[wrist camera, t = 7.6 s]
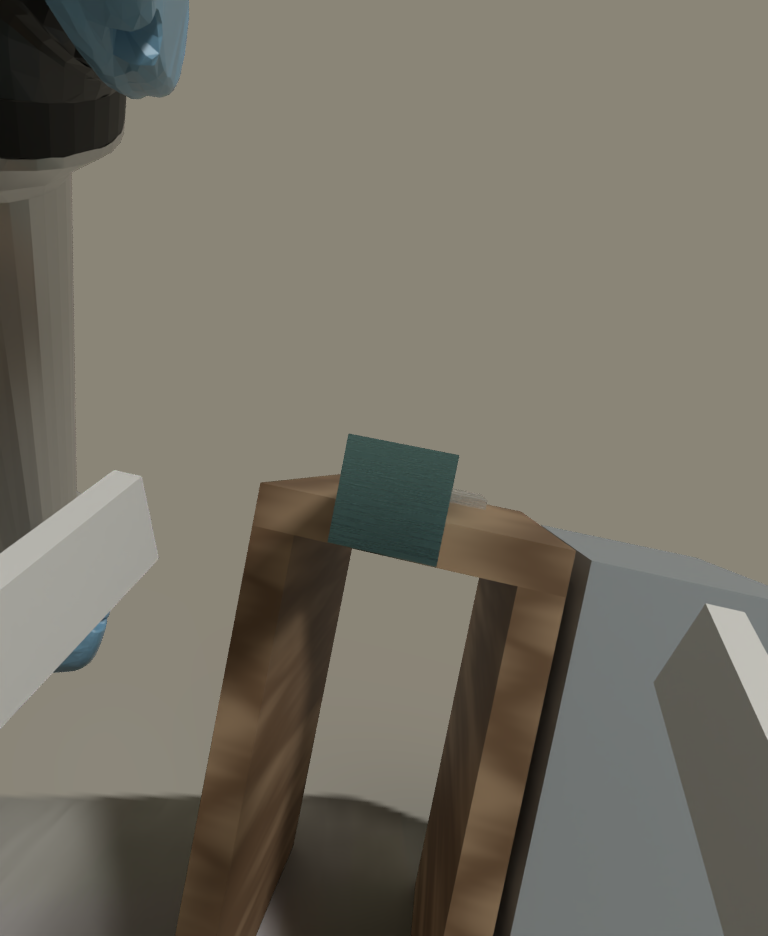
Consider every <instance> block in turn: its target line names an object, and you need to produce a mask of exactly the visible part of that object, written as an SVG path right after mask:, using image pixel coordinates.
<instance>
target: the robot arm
mask: <svg viewBox="0 0 768 936" xmlns="http://www.w3.org/2000/svg"><path fill="white" fill-rule="evenodd" d="M188 21H189V0H0V729H1V728H2V727H3V726H4V724H5V723H6V722H7V721H8V720H9V719H10V718H11V717H12V716H13V715H14V714H15V713H16V712H17V710H18V709H19V708H20V707H21V706H22V705H23V704H24V703H25V702H26V701H27V700H28V699H29V698H30V696H32V694H33V693H34V692H35V691H36V690H37V689H38V688H39V687H40V686H41V685H42V684H43V683H44V682H45V680H46V679H47V678H48V677H49V676H50V675H51V674H52V673H55V672H67V671H68V672H69V671H75V670H78V669H81V668H83V667H84V666H86V665H87V664H88V663H90V662H91V660H92V659H93V658H94V656H95V655H96V653H97V651H98V649H99V646H100V644H101V641H102V638H103V635H104V632H105V628H106V624H107V618H108V616H109V613H110V611H111V609H112V608H113V607H114V606H115V605H116V604H117V603H118V602H119V601H120V600H121V599H122V598H123V597H124V596H125V594H126V593H127V592H128V591H129V590H130V589H131V588H132V587H133V586H134V585H135V584H136V583H137V582H138V580H139V579H140V578H141V577H142V576H143V575H144V574H145V573H146V572H147V571H148V570H149V569H150V567H151V566H152V565H153V564H154V563H155V562H156V561H157V560H158V559H159V558H158V552H157V547H156V543H155V538H154V533H153V528H152V523H151V519H150V513H149V509H148V504H147V499H146V494H145V489H144V485H143V480H142V476H138V475H134V474H130V473H125V472H121V471H116V470H114V471H112V472H111V473H109V474H108V475H107V476H105V477H104V478H103V479H102V480H100V481H99V482H97V483H96V484H94V485H93V486H92V487H90V488H89V489H88V490H86V491H85V492H84V493H82V494H81V493H79V492H78V491H77V487H76V486H77V484H76V482H77V481H76V424H75V423H76V419H75V363H74V362H75V359H74V300H73V298H74V296H73V234H72V172H73V171H76V170H78V169H80V168H82V167H84V166H86V165H88V164H90V163H92V162H94V161H96V160H98V159H100V158H102V157H104V156H106V155H107V154H109V153H111V152H112V151H113V150H114V149H115V148H116V147H117V146H118V145H119V144H120V142H121V140H122V137H123V134H124V124H125V108H126V96H127V97H129V98H131V99H141V98H143V97H145V96H153V97H164V96H167V95H169V94H170V93H171V92H172V91H173V90H174V88H175V86H176V84H177V82H178V80H179V77H180V74H181V68H182V64H183V59H184V55H185V46H186V39H187V29H188ZM653 683H654V686H655V690H656V694H657V697H658V701H659V704H660V708H661V712H662V715H663V719H664V722H665V726H666V729H667V733H668V737H669V740H670V744H671V747H672V751H673V755H674V758H675V762H676V765H677V769H678V772H679V776H680V780H681V783H682V787H683V790H684V794H685V797H686V801H687V805H688V808H689V812H690V815H691V819H692V823H693V826H694V830H695V833H696V837H697V840H698V844H699V848H700V851H701V855H702V858H703V862H704V866H705V869H706V873H707V876H708V880H709V883H710V887H711V891H712V894H713V898H714V901H715V905H716V908H717V912H718V916H719V919H720V923H721V926H722V930H723V934H724V936H768V654H767V653H766V651H765V649H764V647H763V645H762V643H761V641H760V639H759V638H758V636H757V634H756V632H755V630H754V628H753V626H752V625H751V623H750V621H749V619H748V617H747V615H746V613H745V612H742V611H737V610H733V609H728V608H724V607H720V606H715V605H711V604H705V605H704V607H703V608H702V610H701V611H700V613H699V614H698V616H697V617H696V619H695V620H694V622H693V623H692V625H691V626H690V628H689V629H688V631H687V632H686V634H685V635H684V637H683V638H682V640H681V641H680V643H679V645H678V646H677V648H676V649H675V651H674V652H673V654H672V655H671V657H670V658H669V660H668V661H667V663H666V664H665V666H664V667H663V669H662V670H661V672H660V673H659V675H658V676H657V678H656V679H655V681H654V682H653Z"/></svg>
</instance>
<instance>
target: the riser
mask: <svg viewBox="0 0 768 936" xmlns="http://www.w3.org/2000/svg"><path fill="white" fill-rule="evenodd" d="M340 475H341V474H338V475H328V476H319V477H309V478H300V479H291V480H281V481H272V482H262V483H260V488H259V494H258V499H257V504H256V510H255V515H254V520H253V526H252V531H251V536H250V542H249V546H248V552H247V557H246V563H245V568H244V573H243V578H242V584H241V589H240V595H239V600H238V605H237V610H236V616H235V621H234V627H233V631H232V637H231V642H230V647H229V652H228V658H227V664H226V668H225V674H224V679H223V685H222V690H221V695H220V700H219V705H218V711H217V716H216V721H215V727H214V732H213V737H212V743H211V748H210V753H209V758H208V764H207V769H206V774H205V780H204V785H203V790H202V796H201V801H200V806H199V811H198V817H197V822H196V827H195V833H194V838H193V843H192V849H191V854H190V859H189V864H188V870H187V875H186V880H185V886H184V891H183V896H182V902H181V907H180V912H179V917H178V923H177V928H176V933H175V936H256V934H257V932H258V929H259V927H260V924H261V922H262V920H263V917H264V915H265V912H266V910H267V908H268V905H269V903H270V900H271V898H272V895H273V893H274V891H275V888H276V886H277V883H278V881H279V879H280V876H281V874H282V871H283V869H284V866H285V864H286V862H287V859H288V857H289V854H290V852H291V850H292V847H293V844H294V839H295V834H296V829H297V824H298V819H299V814H300V809H301V804H302V799H303V794H304V789H305V784H306V778H307V773H308V768H309V763H310V758H311V753H312V748H313V743H314V738H315V733H316V727H317V723H318V718H319V713H320V707H321V702H322V697H323V692H324V687H325V682H326V677H327V672H328V667H329V662H330V657H331V652H332V647H333V642H334V636H335V632H336V626H337V621H338V616H339V611H340V606H341V601H342V596H343V591H344V586H345V580H346V576H347V570H348V566H349V561H350V555H351V550H352V548H350V547H346V546H342V545H337V544H333V543H329V542H328V537H329V532H330V526H331V521H332V516H333V511H334V506H335V501H336V496H337V491H338V485H339V480H340ZM353 549H355V548H353ZM357 550H359V549H357ZM361 551H364V550H361ZM366 552H368V551H366ZM370 553H372V552H370ZM575 553H576V550H574V549H573V548H571V547H570V546H569V545H567V544H566V543H564V542H563V541H562V540H560V539H559V538H557V537H556V536H555V535H553V534H552V533H550V532H549V531H547V530H546V529H545V528H543V527H542V526H540V525H539V524H537V523H536V522H535V521H533V520H532V519H531V518H529V517H528V516H526V515H525V514H524V513H522V512H520V511H515V510H511V509H506V508H501V507H496V506H491V505H486V510H484V509H479V508H475V507H470V506H465V505H460V504H456V503H451V502H450V503H449V508H448V513H447V518H446V522H445V527H444V532H443V537H442V542H441V547H440V552H439V557H438V561H437V566H436V567H435V568H440V569H444V570H448V571H453V572H457V573H461V574H466V575H470V576H475V577H479V581H478V586H477V591H476V595H475V600H474V605H473V610H472V615H471V620H470V624H469V629H468V634H467V639H466V643H465V649H464V653H463V658H462V663H461V667H460V672H459V677H458V682H457V687H456V691H455V697H454V701H453V706H452V711H451V715H450V720H449V725H448V730H447V736H446V740H445V744H444V749H443V754H442V759H441V763H440V769H439V773H438V778H437V783H436V787H435V792H434V797H433V802H432V807H431V812H430V816H429V821H428V826H427V831H426V835H425V840H424V845H423V850H422V855H421V859H420V864H419V869H418V874H417V879H416V883H415V894H414V906H413V917H412V929H411V936H493V933H494V928H495V924H496V919H497V915H498V910H499V905H500V901H501V896H502V891H503V887H504V882H505V878H506V873H507V868H508V864H509V859H510V854H511V850H512V845H513V840H514V836H515V831H516V827H517V822H518V817H519V813H520V808H521V803H522V799H523V794H524V790H525V785H526V780H527V776H528V771H529V766H530V762H531V757H532V753H533V748H534V743H535V739H536V734H537V729H538V725H539V720H540V715H541V711H542V706H543V702H544V697H545V692H546V688H547V683H548V678H549V674H550V669H551V665H552V660H553V655H554V651H555V646H556V641H557V637H558V632H559V627H560V623H561V618H562V614H563V609H564V604H565V600H566V595H567V590H568V586H569V581H570V577H571V572H572V567H573V563H574V558H575ZM374 554H377V553H374ZM379 555H381V554H379ZM383 556H385V555H383ZM388 557H390V556H388ZM392 558H394V557H392ZM396 559H398V558H396ZM400 560H403V559H400ZM405 561H407V560H405ZM409 562H412V561H409ZM414 563H416V562H414ZM418 564H420V563H418ZM422 565H425V564H422ZM427 566H429V565H427ZM431 567H433V566H431Z"/></svg>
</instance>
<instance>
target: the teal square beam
mask: <svg viewBox="0 0 768 936" xmlns="http://www.w3.org/2000/svg"><path fill="white" fill-rule="evenodd" d="M458 459H459V455H455V454H450V453H445V452H439V451H435V450H430V449H425V448H419V447H414V446H409V445H404V444H399V443H394V442H389V441H384V440H379V439H374V438H369V437H363V436H358V435H352V434H349V435H348V440H347V444H346V450H345V455H344V460H343V465H342V470H341V475H340V480H339V485H338V491H337V496H336V501H335V506H334V511H333V516H332V521H331V526H330V532H329V537H328V542H329V543H333V544H337V545H342V546H346V547H350V548H355V549H359V550H364V551H368V552H372V553H377V554H381V555H385V556H390V557H394V558H398V559H403V560H407V561H412V562H416V563H420V564H425V565H429V566H433V567H436V566H437V561H438V557H439V552H440V547H441V542H442V537H443V532H444V527H445V522H446V518H447V513H448V508H449V503H450V502H451V503H456V504H460V505H465V506H470V507H475V508H479V509H484V510H486V505H487V500H486V499H485V498H484V497H483V496H482V495H480V494H476V493H471V492H466V491H462V490H457V489H452V488H453V483H454V478H455V473H456V468H457V463H458Z"/></svg>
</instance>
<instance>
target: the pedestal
mask: <svg viewBox="0 0 768 936" xmlns="http://www.w3.org/2000/svg"><path fill="white" fill-rule="evenodd" d="M541 526H542V527H543V528H545V529H546V530H547V531H549V532H550V533H552V534H553V535H555V536H556V537H557V538H559V539H560V540H562V541H563V542H564V543H566V544H567V545H569V546H570V547H571V548H573V549H574V550H576V553H575V558H574V563H573V567H572V572H571V577H570V581H569V586H568V590H567V595H566V600H565V604H564V609H563V614H562V618H561V623H560V627H559V632H558V637H557V641H556V646H555V651H554V655H553V660H552V665H551V669H550V674H549V678H548V683H547V688H546V692H545V697H544V702H543V706H542V711H541V715H540V720H539V725H538V729H537V734H536V739H535V743H534V748H533V753H532V757H531V762H530V766H529V771H528V776H527V780H526V785H525V790H524V794H523V799H522V803H521V808H520V813H519V817H518V822H517V827H516V831H515V836H514V840H513V845H512V850H511V854H510V859H509V864H508V868H507V873H506V878H505V882H504V887H503V891H502V896H501V901H500V905H499V910H498V915H497V919H496V924H495V928H494V933H493V936H724V934H723V930H722V926H721V923H720V919H719V916H718V912H717V908H716V905H715V901H714V898H713V894H712V891H711V887H710V883H709V880H708V876H707V873H706V869H705V866H704V862H703V858H702V855H701V851H700V848H699V844H698V840H697V837H696V833H695V830H694V826H693V823H692V819H691V815H690V812H689V808H688V805H687V801H686V797H685V794H684V790H683V787H682V783H681V780H680V776H679V772H678V769H677V765H676V762H675V758H674V755H673V751H672V747H671V744H670V740H669V737H668V733H667V729H666V726H665V722H664V719H663V715H662V712H661V708H660V704H659V701H658V697H657V694H656V690H655V686H654V683H653V682H654V681H655V679H656V678H657V676H658V675H659V673H660V672H661V670H662V669H663V667H664V666H665V664H666V663H667V661H668V660H669V658H670V657H671V655H672V654H673V652H674V651H675V649H676V648H677V646H678V645H679V643H680V641H681V640H682V638H683V637H684V635H685V634H686V632H687V631H688V629H689V628H690V626H691V625H692V623H693V622H694V620H695V619H696V617H697V616H698V614H699V613H700V611H701V610H702V608H703V607H704V605H705V604H711V605H715V606H720V607H724V608H728V609H733V610H737V611H742V612H745V613H746V615H747V617H748V619H749V621H750V623H751V625H752V626H753V628H754V630H755V632H756V634H757V636H758V638H759V639H760V641H761V643H762V645H763V647H764V649H765V651H766V653H767V654H768V586H767V585H765V584H762V583H760V582H757V581H755V580H752V579H749V578H747V577H744V576H742V575H739V574H737V573H734V572H732V571H729V570H726V569H724V568H721V567H719V566H716V565H714V564H711V563H708V562H706V561H703V560H701V559H698V558H695V557H690V556H685V555H680V554H676V553H671V552H666V551H662V550H657V549H652V548H648V547H642V546H638V545H633V544H628V543H624V542H619V541H614V540H610V539H605V538H600V537H595V536H591V535H586V534H581V533H577V532H572V531H567V530H562V529H558V528H553V527H548V526H543V525H541Z"/></svg>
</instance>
